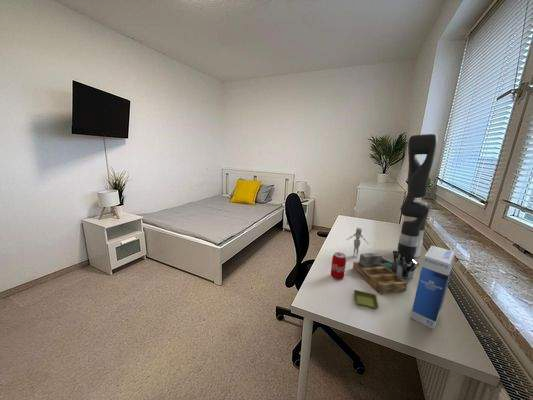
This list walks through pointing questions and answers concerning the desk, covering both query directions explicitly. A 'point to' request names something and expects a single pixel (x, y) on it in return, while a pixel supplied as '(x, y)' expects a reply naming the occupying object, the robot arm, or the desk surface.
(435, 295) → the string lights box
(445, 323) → the desk surface
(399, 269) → the rectangular block
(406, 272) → the robot arm
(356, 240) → the human figurine
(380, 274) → the rack
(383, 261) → the digital multimeter
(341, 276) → the beverage can
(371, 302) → the saucer
